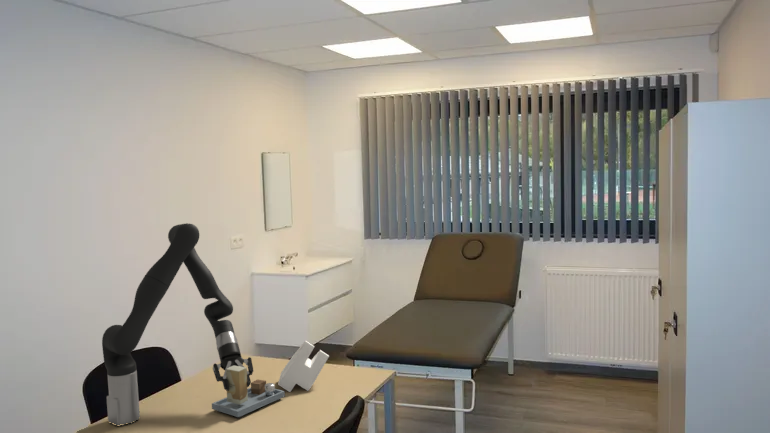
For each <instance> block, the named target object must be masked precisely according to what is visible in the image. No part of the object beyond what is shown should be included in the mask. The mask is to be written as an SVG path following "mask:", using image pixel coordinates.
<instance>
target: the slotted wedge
mask: <svg viewBox="0 0 770 433" xmlns="http://www.w3.org/2000/svg"><path fill="white" fill-rule="evenodd" d="M314 348H315V345H313V344H312V343H310V342H309V341H307V340H304V342H302V344H301V345H300V347H299V348H298V349H297V350H296V351H295V353H293V355H292V357H291V358H290V359H289V360H288V361H287V363H286V365H285V366H284V368H283V369H282V371H281V372H280V375H279V378H278V383H277V386H280V387H281V388H283V389H284V390H285V391H287V392H289V393H290V392H291V391H292V390H293V389H294V387H295V386H296V385H298V386H299V387H301V388H302V389H304V390H306V392H307V391H310V389H311V388H312V387H313V385H314V383H315V382H316V380H317V378H318V376H319V374H320V373H321V371H322V369H323V368H324V366H325V364H326V363H327V361H328V359H329V358H330V355H329V354H327V353H326V352H324V351H323V350H321V349H319V351H318V352H317V353H316V354H315V355H314V356H313V358H311V359H310V355H311V354H312V352H313V350H314Z"/></svg>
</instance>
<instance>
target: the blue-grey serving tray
mask: <svg viewBox="0 0 770 433" xmlns="http://www.w3.org/2000/svg"><path fill="white" fill-rule="evenodd" d="M285 391H286V390H285ZM285 391H284V390H282V389H277V388H275V394H274V395H272V396H270V397H266V396H265V392H264V393H262V394H260V395H258V394H252V393H251V387H247V392H248V401H246V402H244V403H242V404H235V403H231V402H227V396H226V397H224V398H222V399H219V400H216V401H214V402H212V403H211V410H214V411H216V412H218V413H223V414H227V415H230V416H234V417H235V418H236V419H241V418H243V416H244V415H247V414H249V413H251V412H253V411H255V410H257V409H260V408H261V407H264V406H267V405H268V404H269V405H270V404H271V403H273V402H279V401H280V400H281V399H283V398H284V397H286V393H285Z"/></svg>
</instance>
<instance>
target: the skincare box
mask: <svg viewBox="0 0 770 433" xmlns="http://www.w3.org/2000/svg"><path fill="white" fill-rule="evenodd" d="M247 371H248V367H245V366H244V367H241V366H235V365H233V366H231V367H229V368H227V369H226V375H227V377H226V379H227V380H228V384H229V391H226V397H227V402H231V403H235V404H242V403H244V402H246V401H248V392H247V389H248V387H247Z"/></svg>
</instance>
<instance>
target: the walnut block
mask: <svg viewBox="0 0 770 433" xmlns="http://www.w3.org/2000/svg"><path fill="white" fill-rule="evenodd" d="M265 384H267V380H264V379H263V380H262V379H256V380H254V381H252V382H251V383H250V388H251V393H252V394H258V395H260V394H262V393H264V392H265Z"/></svg>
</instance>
